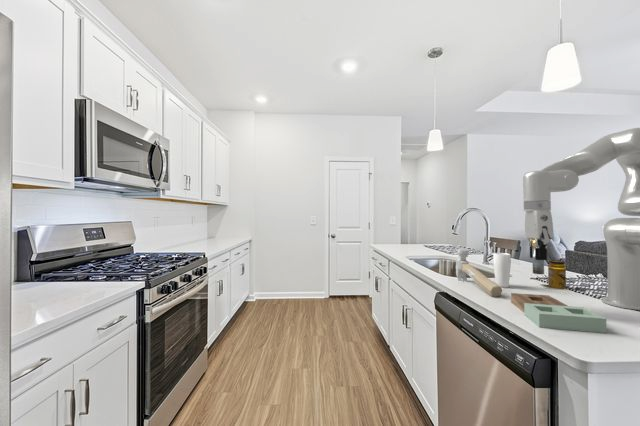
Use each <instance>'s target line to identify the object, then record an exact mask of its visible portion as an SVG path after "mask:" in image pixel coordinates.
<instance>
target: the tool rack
mask: <svg viewBox="0 0 640 426" xmlns="http://www.w3.org/2000/svg"><path fill="white" fill-rule="evenodd" d="M523 313H524V314H523V315H524V316H525V317H526V318H527V319H529V321H531V322H533V324H535V325H536V326H537V327H538V328H542V329H543V328H544V329H545V328H546V329H557V330H567V331H580V332H589V333H602V334H607V318H606V317H603V316H602V315H600V314H598V313H596V312H594V311H591V309H590V310H589V309H588V308H587V307H586V308H585V307H584V306H575V305H574V306H571V305H567V306H559V305H545V304H531V303H524V312H523Z"/></svg>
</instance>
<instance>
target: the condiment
mask: <svg viewBox="0 0 640 426" xmlns="http://www.w3.org/2000/svg"><path fill="white" fill-rule="evenodd" d="M548 263H549V264H548V267H547V272H548V273H547V274H548V275H547V278H548V280H547V282H548V283H547V284H543V283H542V284H541V283H540V286H542V287H543V288H544V289H551V290H562V291H570V289H568V288H567V285H566V284H567V282H566V281H567V272H566V271H567V269H566V267H565V264H566V263H565V261H563V260H554V259H553V260H549V262H548ZM566 288H567V289H566Z"/></svg>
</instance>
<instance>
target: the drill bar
mask: <svg viewBox="0 0 640 426" xmlns="http://www.w3.org/2000/svg"><path fill="white" fill-rule="evenodd" d="M539 243H540V241H539ZM535 248H536V239H532V258H531V259H532V262H531V263H532V274H535V275H545V260H536V259H535Z"/></svg>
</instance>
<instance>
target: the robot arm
mask: <svg viewBox="0 0 640 426" xmlns="http://www.w3.org/2000/svg"><path fill="white" fill-rule="evenodd" d="M613 160H616V162H617V164H618V165H619V166H620V168H621V170H623V174H625V175H624V176H625V181H624V184H623V188H622V191H621V194H620V196H619V198H618V199H619V200H618V202H617V209H618V210H617V211H618V212H619V213H621V214H622V215H625V216H629V217H618V218H613V219H610V220H608V221H607V222H605V224H604V226H603V228H602V229H603V230H602V233H603V236H604V240H605V244H606V251H607V252H606V253H607V254H606V255H607V258H606V259H607V260H606V261H607V296H603V297H601V302H602V303H604V304H607V305H609V306H610V305H611V306H613V307H616V308H623V309H628V310H636V311H637V310H638V311H640V127H633V128H630V129H626V130H621V131H617V132H613V133H610V134H606V135H604V136H602V137H601V138H599V139H598V140H596V141H594V142H592V143H591V144H590V145H588V146H586V147H585V148H582V150H580V151H578V152H576V153H574V154H571V155H569V156H567V157H565V158H563V159H560V160H558V161H556V162H554V163H552V164H550V165H548V166H546V167H544V168H542V169H540V170H534V171H527V172H525V173H524V174H523V176H522V182H523V183H522V187H523V191H522V192H523V211H524V212H525V218H524V233H525V236H526V238H527V240H528V246H529V258H531V259H532V239H536V248H535V259H536V260H544V261H547V260H548V256H547V255H548V253H547V251H548V244H549V243H550V240H553V239H554V238H555V237H554V236H555V235H554V223H553V217H552V209H551V208H552V204H551V203H552V201H551V199H552V198H551V193H559V192H561V193H562V192H567V191H571V190H573V189H574V188H575V187H576V186H578V184H579V180H580V179H579V177H580V176H584V175H585V176H586V175H588V174H591V173H593V172H596V171H598V170H600V169H601V168H603V167H604V166H605V165H607V164H609V163H610V162H613ZM631 216H632V217H631ZM539 241H540V243H539Z"/></svg>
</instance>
